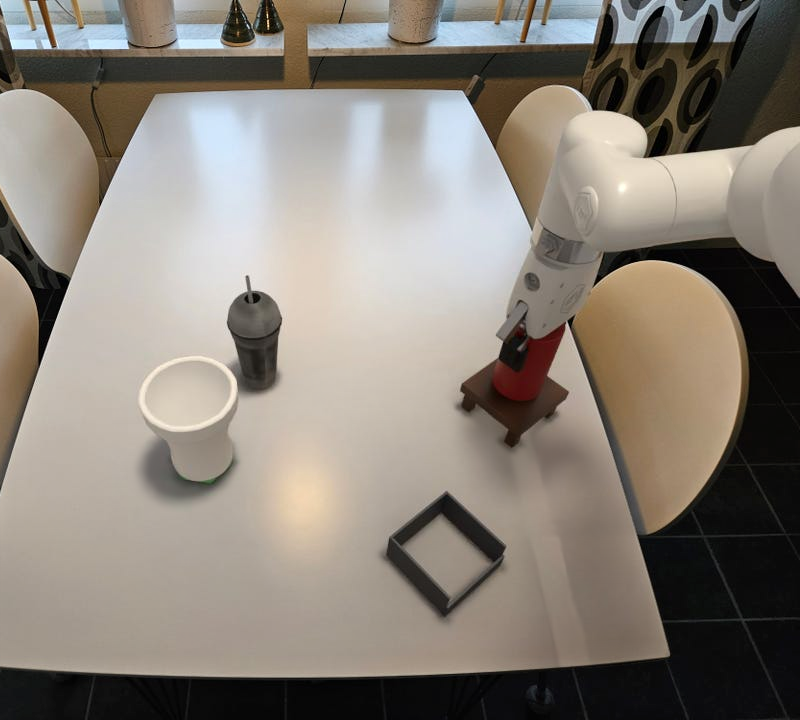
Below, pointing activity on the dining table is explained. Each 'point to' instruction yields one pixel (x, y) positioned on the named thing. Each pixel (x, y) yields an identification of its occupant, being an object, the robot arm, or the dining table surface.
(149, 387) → the cup
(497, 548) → the dark square frame
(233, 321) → the beverage cup
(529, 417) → the stool
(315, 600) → the dining table surface
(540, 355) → the can
